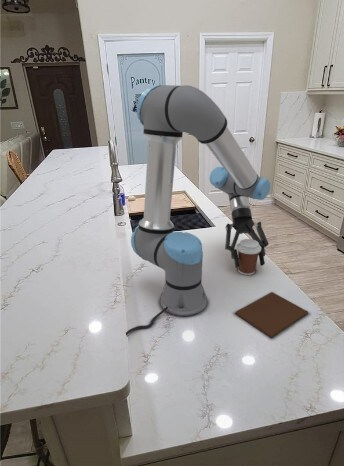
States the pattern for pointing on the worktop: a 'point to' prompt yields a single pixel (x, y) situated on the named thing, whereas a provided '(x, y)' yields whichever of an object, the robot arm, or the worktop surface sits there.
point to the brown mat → (271, 314)
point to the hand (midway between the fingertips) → (250, 265)
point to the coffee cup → (248, 256)
